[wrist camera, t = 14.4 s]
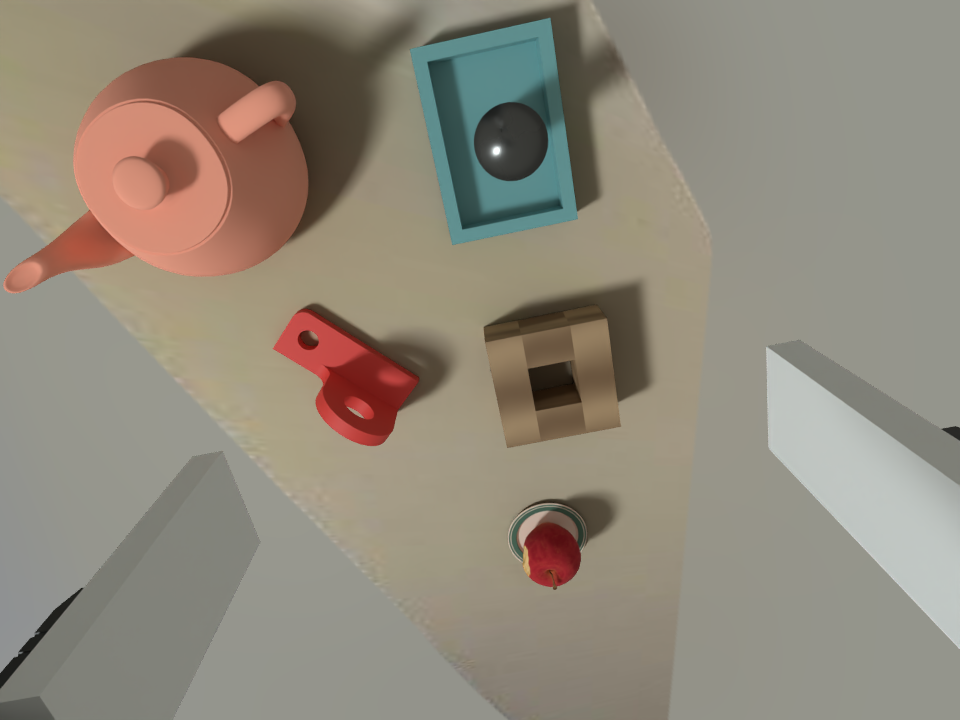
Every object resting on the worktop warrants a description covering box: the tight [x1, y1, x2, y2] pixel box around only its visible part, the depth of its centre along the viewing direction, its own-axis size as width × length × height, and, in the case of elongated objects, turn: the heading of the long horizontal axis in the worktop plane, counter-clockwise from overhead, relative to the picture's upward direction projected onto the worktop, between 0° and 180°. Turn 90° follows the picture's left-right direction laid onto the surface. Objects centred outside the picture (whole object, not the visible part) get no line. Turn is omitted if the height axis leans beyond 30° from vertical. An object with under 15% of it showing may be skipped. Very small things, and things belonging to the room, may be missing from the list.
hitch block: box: [484, 305, 621, 448], centre depth 51 cm, size 10×10×4 cm
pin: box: [474, 102, 548, 181], centre depth 39 cm, size 4×4×15 cm
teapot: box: [4, 57, 309, 293], centre depth 41 cm, size 22×15×12 cm
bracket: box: [273, 309, 419, 446], centre depth 49 cm, size 12×4×8 cm, turn 55°
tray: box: [410, 18, 578, 245], centre depth 45 cm, size 14×10×2 cm
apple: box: [508, 503, 587, 590], centre depth 57 cm, size 8×8×6 cm
